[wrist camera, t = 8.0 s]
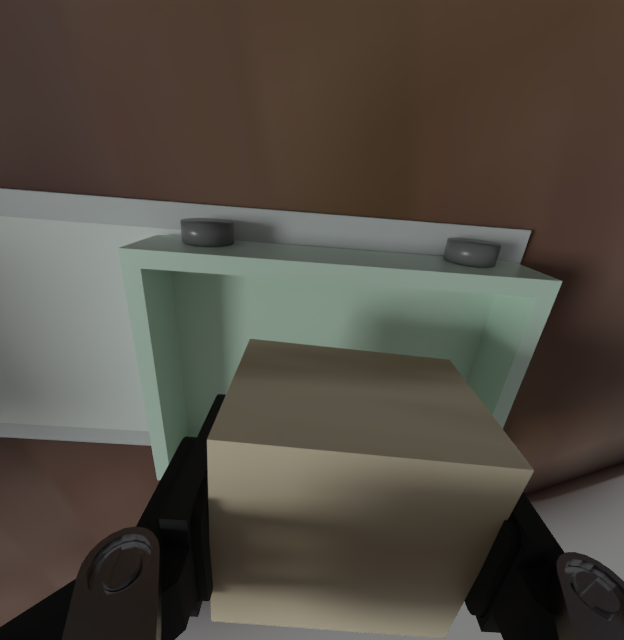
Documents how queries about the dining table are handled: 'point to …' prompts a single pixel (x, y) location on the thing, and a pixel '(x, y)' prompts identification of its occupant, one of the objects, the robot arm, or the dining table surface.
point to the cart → (319, 314)
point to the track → (111, 303)
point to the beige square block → (353, 490)
